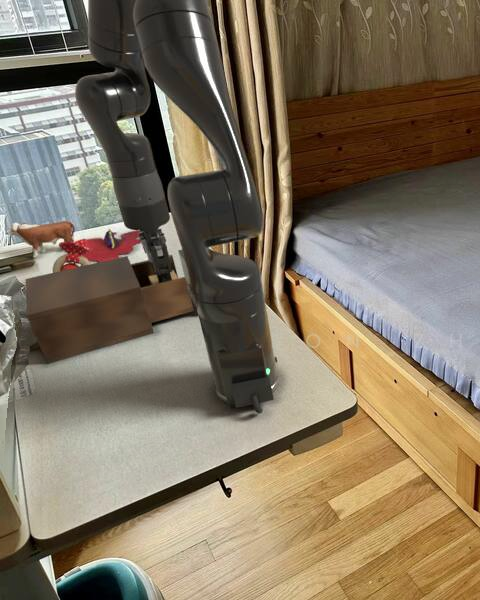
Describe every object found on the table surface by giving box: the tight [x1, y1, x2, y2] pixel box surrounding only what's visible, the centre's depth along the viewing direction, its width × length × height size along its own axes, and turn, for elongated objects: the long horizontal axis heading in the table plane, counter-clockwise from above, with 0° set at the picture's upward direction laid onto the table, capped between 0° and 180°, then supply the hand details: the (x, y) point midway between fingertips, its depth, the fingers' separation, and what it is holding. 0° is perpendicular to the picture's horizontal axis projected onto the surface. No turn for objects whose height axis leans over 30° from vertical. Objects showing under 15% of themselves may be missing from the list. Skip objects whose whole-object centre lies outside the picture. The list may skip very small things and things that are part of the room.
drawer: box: [131, 249, 195, 324], centre depth 103 cm, size 22×14×8 cm, turn 122°
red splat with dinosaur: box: [82, 228, 141, 263], centre depth 129 cm, size 18×15×5 cm
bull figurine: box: [8, 220, 76, 259], centre depth 126 cm, size 4×13×8 cm, turn 107°
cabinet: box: [25, 255, 155, 364], centre depth 97 cm, size 17×15×9 cm
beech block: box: [148, 270, 179, 285], centre depth 102 cm, size 5×5×5 cm
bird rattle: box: [52, 238, 92, 273], centre depth 110 cm, size 6×11×9 cm
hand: (164, 283), depth 102 cm, fingers open, 5 cm apart
